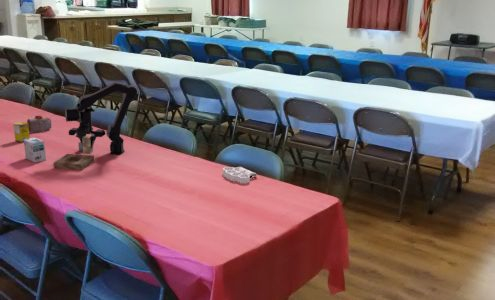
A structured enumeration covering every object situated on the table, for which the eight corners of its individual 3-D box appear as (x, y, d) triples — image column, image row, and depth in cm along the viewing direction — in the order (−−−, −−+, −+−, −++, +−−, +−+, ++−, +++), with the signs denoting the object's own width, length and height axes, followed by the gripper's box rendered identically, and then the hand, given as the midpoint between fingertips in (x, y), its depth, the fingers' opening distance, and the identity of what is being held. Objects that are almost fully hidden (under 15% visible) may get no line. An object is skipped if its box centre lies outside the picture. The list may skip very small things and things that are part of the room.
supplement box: (30, 140, 316) (28, 123, 313) (21, 143, 312) (19, 125, 308) (24, 139, 319) (22, 121, 316) (15, 141, 315) (13, 123, 311)
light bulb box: (46, 160, 283) (44, 140, 280) (34, 162, 278) (32, 143, 275) (37, 155, 290) (35, 136, 286) (25, 158, 285) (23, 139, 282)
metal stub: (88, 149, 302) (88, 141, 301) (85, 151, 298) (85, 143, 297) (82, 149, 303) (81, 140, 301) (78, 151, 299) (78, 142, 297)
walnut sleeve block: (94, 160, 283) (93, 155, 282) (82, 170, 269) (81, 164, 268) (67, 159, 285) (67, 153, 284) (54, 168, 271) (53, 162, 270)
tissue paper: (261, 180, 262) (237, 186, 253) (238, 170, 275) (215, 175, 267) (261, 173, 261) (237, 179, 252) (238, 164, 274) (215, 169, 266)
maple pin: (93, 152, 292) (92, 136, 289) (90, 154, 288) (89, 138, 286) (86, 151, 293) (85, 135, 290) (83, 153, 289) (82, 137, 286)
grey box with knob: (47, 127, 346) (46, 113, 343) (52, 130, 340) (51, 115, 337) (26, 131, 337) (25, 115, 334) (31, 133, 331) (30, 118, 328)
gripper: (62, 122, 279) (65, 150, 283) (96, 124, 276) (98, 153, 281) (72, 117, 289) (74, 144, 294) (104, 119, 287) (106, 147, 291)
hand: (88, 147), depth 290 cm, fingers closed on maple pin, 4 cm apart
